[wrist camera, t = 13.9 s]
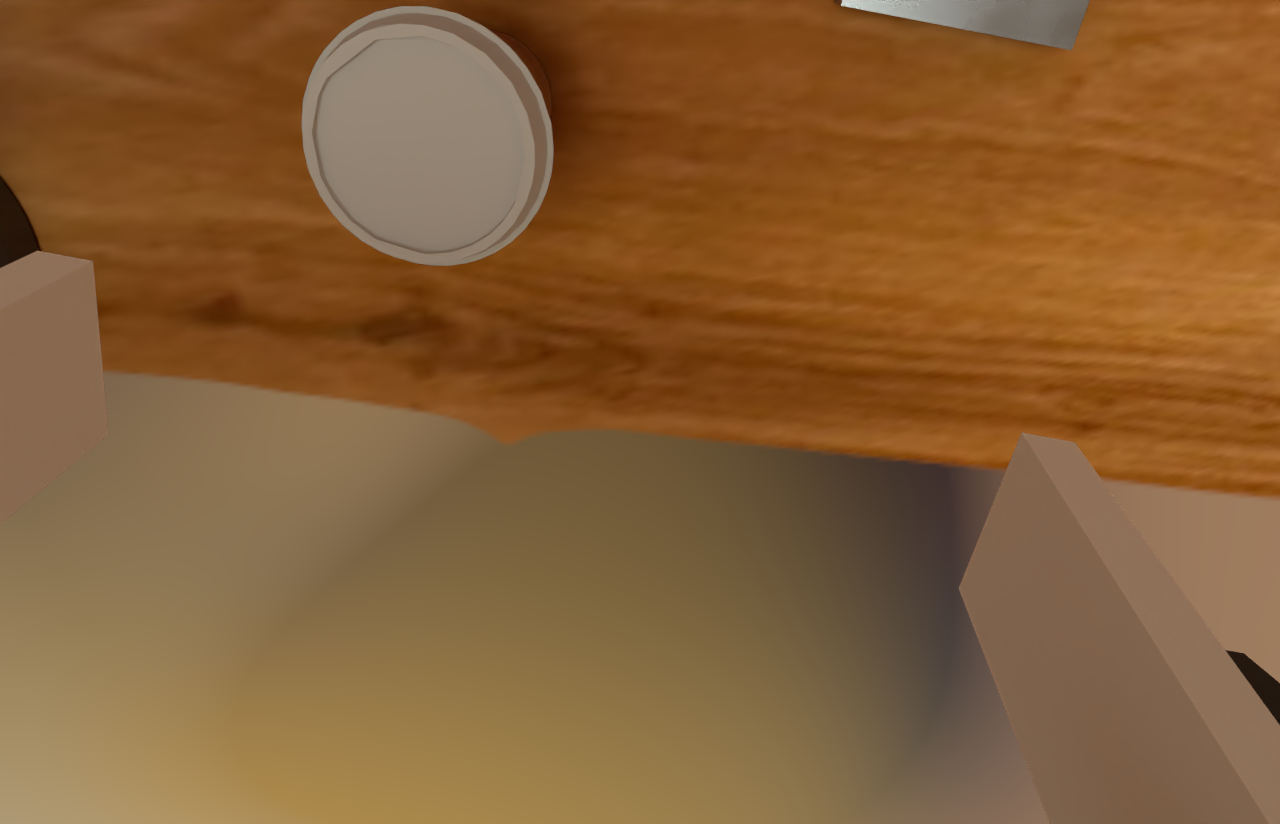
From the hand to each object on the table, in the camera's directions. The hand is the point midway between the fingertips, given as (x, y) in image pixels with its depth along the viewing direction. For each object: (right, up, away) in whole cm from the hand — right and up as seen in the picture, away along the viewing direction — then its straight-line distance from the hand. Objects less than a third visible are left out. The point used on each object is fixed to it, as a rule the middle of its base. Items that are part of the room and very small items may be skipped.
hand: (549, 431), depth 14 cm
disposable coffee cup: (-6, +15, +32) cm, 36 cm away
